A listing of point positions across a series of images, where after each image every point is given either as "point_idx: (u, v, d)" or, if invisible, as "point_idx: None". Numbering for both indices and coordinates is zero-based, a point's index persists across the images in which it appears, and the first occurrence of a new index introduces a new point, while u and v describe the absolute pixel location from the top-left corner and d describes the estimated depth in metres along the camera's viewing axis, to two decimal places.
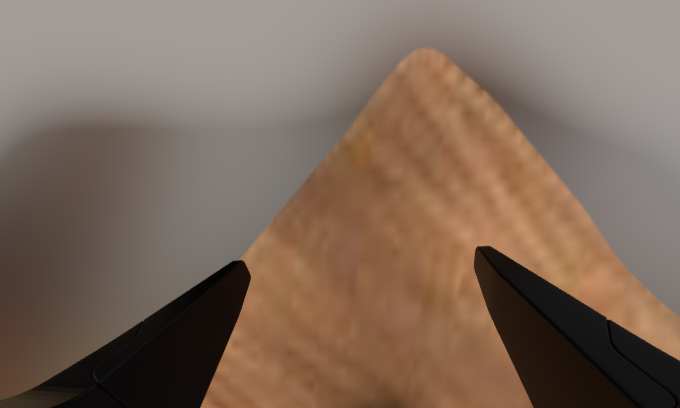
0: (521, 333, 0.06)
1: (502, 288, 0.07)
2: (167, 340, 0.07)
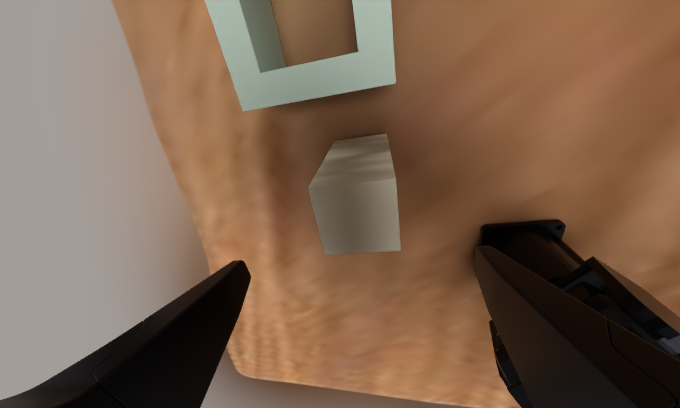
0: (521, 333, 0.06)
1: (502, 288, 0.07)
2: (167, 340, 0.07)
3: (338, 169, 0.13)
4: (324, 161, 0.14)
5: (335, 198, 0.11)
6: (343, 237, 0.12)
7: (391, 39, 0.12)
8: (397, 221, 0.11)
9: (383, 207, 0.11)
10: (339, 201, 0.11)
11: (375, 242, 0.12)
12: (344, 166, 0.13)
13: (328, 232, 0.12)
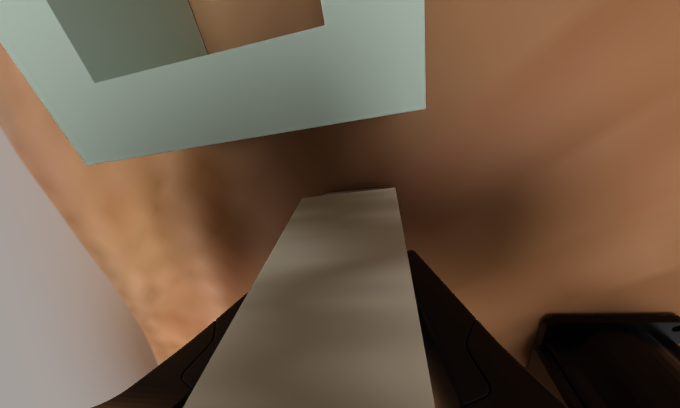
0: None
1: None
2: None
3: (272, 346, 0.05)
4: (258, 281, 0.06)
5: None
6: None
7: None
8: None
9: None
10: None
11: None
12: (290, 330, 0.05)
13: None
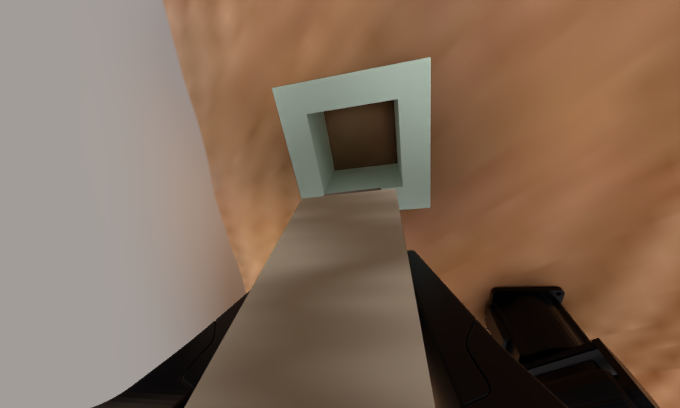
0: None
1: None
2: None
3: (272, 347, 0.05)
4: (259, 282, 0.06)
5: None
6: None
7: (429, 181, 0.16)
8: None
9: None
10: None
11: None
12: (291, 332, 0.05)
13: None
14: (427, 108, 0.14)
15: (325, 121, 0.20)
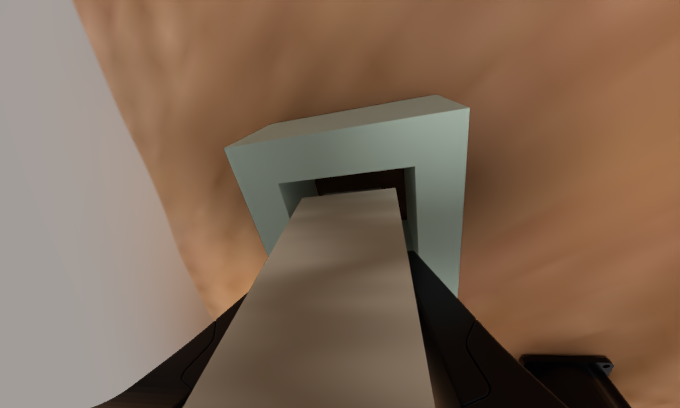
0: None
1: None
2: None
3: (271, 346, 0.05)
4: (258, 281, 0.06)
5: None
6: None
7: (457, 269, 0.11)
8: None
9: None
10: None
11: None
12: (290, 332, 0.05)
13: None
14: (460, 179, 0.09)
15: None
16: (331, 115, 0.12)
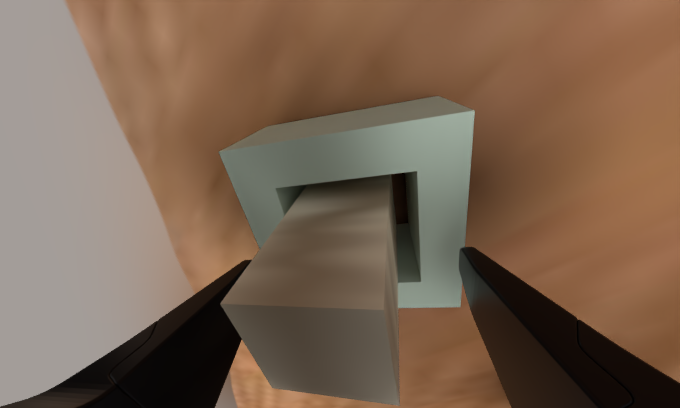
0: (498, 333, 0.06)
1: (482, 289, 0.07)
2: (182, 340, 0.07)
3: (293, 249, 0.07)
4: (283, 221, 0.09)
5: (272, 323, 0.06)
6: (297, 374, 0.07)
7: (460, 276, 0.11)
8: (391, 370, 0.06)
9: (361, 347, 0.06)
10: (280, 329, 0.06)
11: (353, 389, 0.07)
12: (304, 243, 0.07)
13: (271, 364, 0.07)
14: (464, 184, 0.09)
15: None
16: (330, 117, 0.12)
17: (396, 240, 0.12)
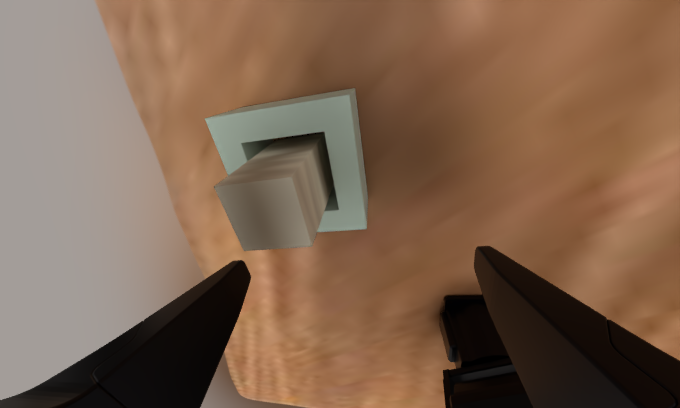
0: (521, 333, 0.06)
1: (502, 288, 0.07)
2: (167, 340, 0.07)
3: (254, 168, 0.13)
4: (250, 160, 0.15)
5: (241, 196, 0.12)
6: (256, 234, 0.13)
7: (362, 205, 0.17)
8: (302, 218, 0.12)
9: (286, 204, 0.12)
10: (246, 199, 0.12)
11: (287, 238, 0.13)
12: (261, 165, 0.13)
13: (242, 229, 0.13)
14: (352, 140, 0.15)
15: (273, 141, 0.20)
16: (282, 100, 0.18)
17: (330, 184, 0.18)
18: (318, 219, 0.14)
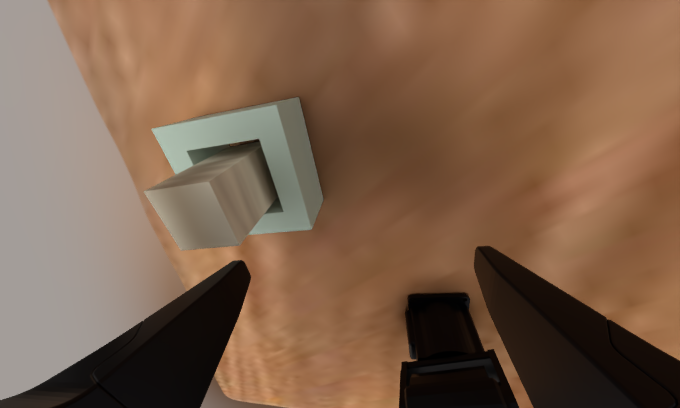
0: (521, 333, 0.06)
1: (502, 288, 0.07)
2: (167, 340, 0.07)
3: (188, 174, 0.14)
4: None
5: (169, 199, 0.13)
6: (189, 234, 0.14)
7: (304, 207, 0.18)
8: (225, 219, 0.13)
9: (209, 206, 0.13)
10: (173, 202, 0.13)
11: (216, 238, 0.14)
12: (195, 171, 0.14)
13: (175, 230, 0.14)
14: (285, 146, 0.16)
15: None
16: (232, 110, 0.19)
17: None
18: (253, 220, 0.15)
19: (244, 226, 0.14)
